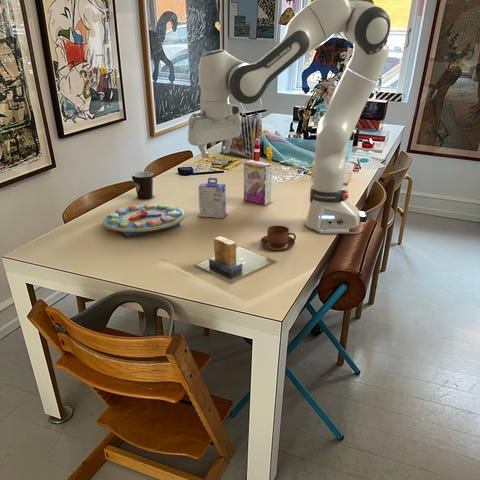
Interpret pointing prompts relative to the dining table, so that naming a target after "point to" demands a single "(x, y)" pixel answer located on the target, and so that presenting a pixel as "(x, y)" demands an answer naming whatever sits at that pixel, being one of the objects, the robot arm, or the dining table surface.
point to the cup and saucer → (278, 238)
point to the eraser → (225, 255)
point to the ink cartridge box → (212, 199)
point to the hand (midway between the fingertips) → (215, 155)
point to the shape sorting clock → (143, 219)
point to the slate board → (243, 256)
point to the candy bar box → (257, 182)
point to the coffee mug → (143, 184)
